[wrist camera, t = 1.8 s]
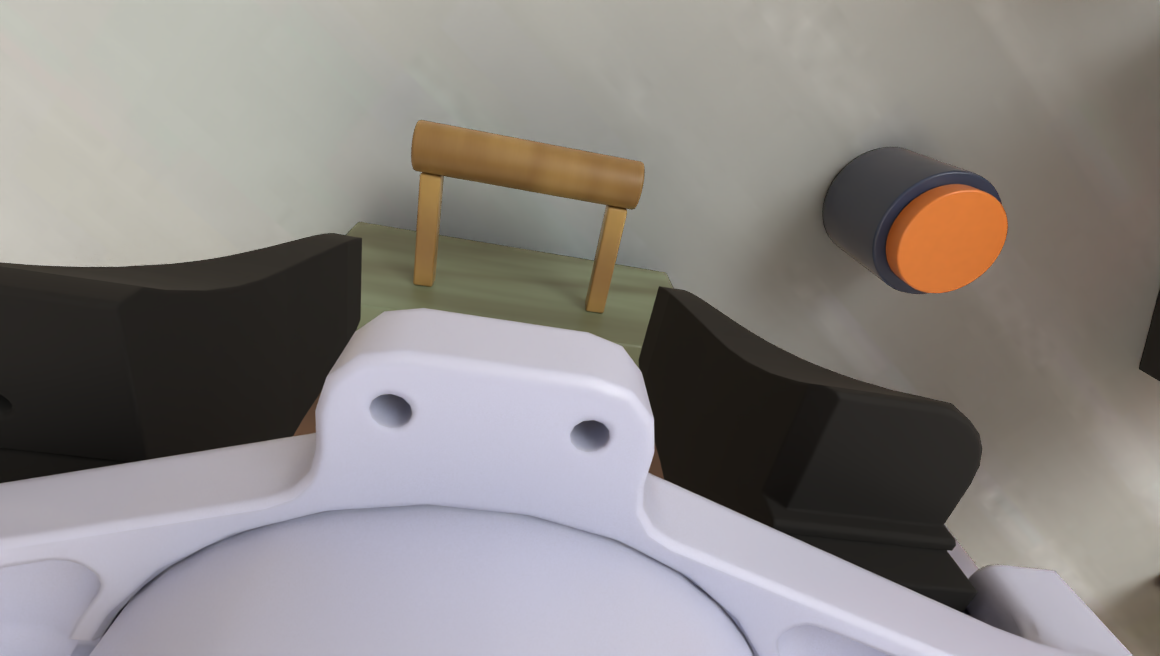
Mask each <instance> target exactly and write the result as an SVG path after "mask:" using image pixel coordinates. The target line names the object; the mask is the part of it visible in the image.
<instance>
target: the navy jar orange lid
mask: <svg viewBox="0 0 1160 656" xmlns="http://www.w3.org/2000/svg"><path fill="white" fill-rule="evenodd" d="M823 221H824V226H825V229H826V231H827V234H828V235H829V237H830V239H831V240H832V241H833V242H834V243H835V244H836V245H837V246H838V247H840V248H841V249H842V250H843V251H845V252H846V253H847V254H849V255H850V256H851V257H853V258H854V259H855V260H856V261H858V262H859V263H860V264H862V265H863V266H864V267H865V268H867V269H868V270H869V271H871V272H872V273H873V274H874V275H876V276H877V277H878V278H880V279H881V280H882V281H884V282H885V283H886V284H887V285H889V286H890V287H892V288H894V289H896V290H898V291H901V292H905V293H911V294H926V293H944V292H949V291H953V290H956V289H959V288H961V287H963V286H965V285H967V284H969V283H971V282H972V281H974V280H975V279H977V278H978V277H980V276H981V275H982V274H983V273H984V272H985V271H986V270H987V269H988V268H989V267H990V266H991V265H992V264H993V262H994V261H995V260H996V258H997V257H998V255H999V254H1000V252H1001V250H1002V248H1003V245H1004V243H1005V240H1006V236H1007V229H1008V223H1007V216H1006V213H1005V210H1004V208H1003V206H1002V203H1001V199H1000V197H999V195H998V192H997V191H996V189H995V188H994V186H993V185H992V184H991V183H990V182H989V181H988V180H986V179H985V178H983V177H982V176H980V175H978V174H975V173H973V172H970V171H967V170H964V169H961V168H958V167H955V166H953V165H950V164H947V163H944V162H941V161H938V160H936V159H933V158H930V157H927V156H924V155H921V154H919V153H916V152H913V151H910V150H907V149H904V148H898V147H885V148H879V149H875V150H872V151H869V152H867V153H865V154H863V155H861V156H859V157H857V158H856V159H854V160H853V161H852V162H850V163H849V164H848V165H847V166H846V167H844V168H843V170H842V171H841V172H840V173H839V174H838V175H837V177H836V178H835V179H834V181H833V182H832V184H831V186H830V188H829V190H828V192H827V195H826V198H825V201H824V207H823Z"/></svg>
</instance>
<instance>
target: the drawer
mask: <svg viewBox="0 0 1160 656" xmlns="http://www.w3.org/2000/svg"><path fill="white" fill-rule="evenodd" d="M411 161H412V166H413V169H414V170H415V171H419V172H422V173H421V174H420V182H419V198H418V213H417V229H416V231H412V230H406V229H400V228H394V227H388V226H382V225H376V224H370V223H364V222H358V223H357V224H356V225H355V226H354V227H353V228H352V229H351V230H350V231H349V232H348V233H347V234H346V235H347V236H353V237H359V238H362V273H361V320H360V323H359V325H358V327H357V330H358V329H360V328H361V327H363V326H364V325H366V324H367V323H368V322H370V321H371V320H373V319H374V318H376V317H377V316H379V315H380V314H381V313H383V312H384V311H395V310H407V309H419V308H427V309H434V310H441V311H448V312H454V313H461V314H468V315H474V316H481V317H488V318H495V319H501V320H508V321H515V322H521V323H528V324H535V325H542V326H548V327H555V328H562V329H568V330H575V331H582V332H589V333H591V334H593V335H596V336H598V337H601V338H603V339H606V340H608V341H611V342H613V343H615V344H618V345H620V346H622V347H623V348H624V349H625V351H626V352H627V353H628V355H629V356H630V357H631V359H632V360H633V361H634V363H635V364H636V365H637V367H638V368H639V361H638V360H639V356H640V352H641V349H642V345H643V342H644V338H645V335H646V331H647V327H648V324H649V320H650V317H651V313H652V309H653V306H654V302H655V299H656V295H657V291H658V288H659V286H662V287H668V288H673V287H672V284H671V282H670V280H669V278H668V276H667V274H666V273H665V272H659V271H653V270H647V269H641V268H635V267H629V266H623V265H617V264H615V262H616V258H617V254H618V249H619V245H620V241H621V237H622V232H623V228H624V224H625V220H626V215H627V210H626V209H631V210H632V209H635V208H636V206H637V204H638V202H639V199H640V196H641V192H642V188H643V182H644V173H645V170H644V164H643V163H642V162H640V161H635V160H629V159H624V158H619V157H614V156H608V155H603V154H598V153H593V152H587V151H582V150H577V149H572V148H566V147H561V146H556V145H551V144H545V143H540V142H535V141H530V140H524V139H519V138H514V137H509V136H503V135H498V134H493V133H488V132H482V131H477V130H472V129H467V128H461V127H456V126H451V125H446V124H440V123H435V122H430V121H425V120H419V121H418V122H417V124H416V126H415V129H414V133H413V139H412V148H411ZM444 176H447V177H452V178H458V179H464V180H469V181H475V182H480V183H486V184H492V185H497V186H503V187H508V188H514V189H520V190H525V191H531V192H536V193H542V194H547V195H553V196H559V197H564V198H570V199H575V200H581V201H587V202H592V203H598V204H603V205H606V209H605V213H604V218H603V222H602V227H601V232H600V236H599V241H598V245H597V250H596V255H595V259H594V261H593V260H587V259H581V258H575V257H569V256H563V255H557V254H551V253H545V252H539V251H533V250H527V249H520V248H514V247H508V246H502V245H496V244H490V243H484V242H478V241H472V240H466V239H460V238H454V237H448V236H442V235H439V227H440V215H441V203H442V191H443V179H444ZM357 330H356V331H357Z"/></svg>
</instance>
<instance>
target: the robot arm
mask: <svg viewBox="0 0 1160 656" xmlns="http://www.w3.org/2000/svg"><path fill="white" fill-rule="evenodd" d="M361 273H362V238H359V237H353V236H347V235H341V234H334V233H328V234H321V235H315V236H311V237H307V238H303V239H299V240H295V241H291V242H287V243H283V244H279V245H275V246H271V247H267V248H263V249H258V250H254V251H249V252H244V253H240V254H235V255H231V256H226V257H220V258H214V259H208V260H201V261H193V262H184V263H175V264H162V265H144V266H126V267H64V266H39V265H24V264H11V263H0V656H1133V655H1132V654H1131V653H1130V652H1129V651H1128V650H1127V648H1126V647H1125V646H1124V645H1123V644H1122V643H1121V642H1120V641H1119V640H1118V639H1117V638H1116V637H1115V635H1114V634H1113V633H1112V632H1111V631H1110V630H1109V629H1108V628H1107V627H1106V626H1105V625H1104V623H1103V622H1102V621H1101V620H1100V619H1099V618H1098V617H1097V616H1096V615H1095V614H1094V613H1093V612H1092V610H1091V609H1090V608H1089V607H1088V606H1087V605H1086V604H1085V603H1084V602H1083V601H1082V600H1081V599H1080V597H1079V596H1078V595H1077V594H1076V593H1075V592H1074V591H1073V590H1072V589H1071V588H1070V587H1069V586H1068V584H1067V583H1066V582H1065V581H1064V580H1063V579H1062V578H1061V577H1060V576H1059V575H1058V574H1057V572H1056V571H1053V570H1046V569H1037V568H1027V567H1018V566H1008V565H999V564H997V565H987V566H985V567H983V568H980V569H978V567H977V566H976V564H975V563H974V561H973V560H972V559H971V557H970V556H969V555H968V554H967V552H966V551H965V550H964V549H963V547H962V546H961V545H960V543H959V542H958V541H957V540H956V538H955V537H954V536H953V535H952V533H951V532H950V531H949V530H948V528H947V527H946V526H945V524H944V523H945V522H946V520H947V519H948V517H949V516H950V514H951V513H952V511H953V510H954V508H955V507H956V505H957V504H958V502H959V501H960V499H961V498H962V496H963V495H964V493H965V492H966V490H967V489H968V487H969V486H970V484H971V482H972V480H973V478H974V476H975V474H976V472H977V470H978V468H979V466H980V460H981V454H982V445H981V440H980V435H979V433H978V431H977V430H976V429H975V427H974V426H973V424H972V423H971V421H970V420H969V419H968V418H967V417H965V416H964V415H963V414H962V413H961V412H960V411H959V410H958V409H957V408H956V407H955V406H954V405H953V404H951V403H948V402H943V401H939V400H934V399H930V398H925V397H921V396H916V395H912V394H907V393H903V392H898V391H894V390H890V389H886V388H883V387H880V386H876V385H873V384H869V383H866V382H862V381H859V380H856V379H853V378H850V377H847V376H844V375H841V374H838V373H836V372H833V371H831V370H828V369H825V368H823V367H820V366H818V365H815V364H813V363H810V362H808V361H806V360H803V359H801V358H799V357H797V356H795V355H793V354H791V353H789V352H787V351H784V350H782V349H780V348H778V347H776V346H775V345H773V344H771V343H769V342H767V341H765V340H764V339H762V338H760V337H759V336H757V335H755V334H754V333H752V332H750V331H749V330H747V329H745V328H744V327H742V326H741V325H739V324H738V323H736V322H735V321H733V320H732V319H730V318H729V317H727V316H726V315H724V314H723V313H721V312H720V311H718V310H717V309H715V308H714V307H712V306H711V305H709V304H708V303H707V302H705V301H703V300H702V299H700V298H699V297H697V296H695V295H694V294H692V293H690V292H688V291H685V290H680V289H674V288H668V287H662V286H659V288H658V291H657V295H656V299H655V302H654V306H653V309H652V313H651V317H650V320H649V324H648V327H647V331H646V335H645V338H644V342H643V345H642V349H641V352H640V356H639V360H638V361H639V368H638V367H637V365H636V364H635V363H634V361H633V360H632V359H631V357H630V356H629V355H628V353H627V352H626V351H625V349H624V348H623V347H622V346H620V345H618V344H615V343H613V342H611V341H608V340H606V339H603V338H601V337H598V336H596V335H593V334H591V333H589V332H582V331H575V330H568V329H562V328H555V327H548V326H542V325H535V324H528V323H521V322H515V321H508V320H501V319H495V318H488V317H481V316H474V315H468V314H461V313H454V312H448V311H441V310H434V309H427V308H419V309H407V310H395V311H384V312H383V313H381V314H380V315H379V316H377V317H376V318H374V319H373V320H371V321H370V322H368V323H367V324H366V325H364V326H363V327H361V328H360V329H358V330H357V327H358V325H359V323H360V320H361ZM356 330H357V331H356ZM321 391H322V392H321ZM320 393H321V395H320V398H319V401H318V404H317V407H316V410H315V417H316V433H311V434H305V435H299V436H294V434H295V432H296V430H297V429H298V427H299V425H300V423H301V422H302V420H303V418H304V417H305V415H306V414H307V412H308V411H309V409H310V408H311V406H312V405H313V403H314V402H315V400H316V399H317V397H318V396H319V394H320ZM654 441H655V445H656V448H657V452H658V456H659V459H660V463H661V468H662V472H663V477H664V479H662V478H659V477H657V476H655V475H653V474H651V473H648V471H649V468H650V465H651V462H652V459H653V455H654V452H655V449H654Z"/></svg>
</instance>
